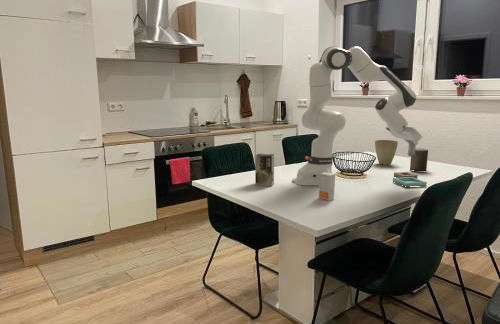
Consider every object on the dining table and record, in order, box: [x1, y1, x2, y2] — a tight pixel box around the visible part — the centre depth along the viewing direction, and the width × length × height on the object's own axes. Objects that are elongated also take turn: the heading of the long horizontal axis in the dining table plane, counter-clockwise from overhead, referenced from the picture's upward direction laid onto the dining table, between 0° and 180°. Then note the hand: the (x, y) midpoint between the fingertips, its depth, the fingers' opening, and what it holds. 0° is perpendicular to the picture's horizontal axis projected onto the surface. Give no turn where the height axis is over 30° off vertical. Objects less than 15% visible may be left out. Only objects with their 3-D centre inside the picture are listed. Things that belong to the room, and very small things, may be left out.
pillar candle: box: [409, 147, 429, 172], centre depth 241 cm, size 10×10×15 cm
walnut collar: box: [393, 171, 419, 179], centre depth 220 cm, size 9×9×3 cm
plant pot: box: [374, 139, 399, 166], centre depth 261 cm, size 15×15×16 cm
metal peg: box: [407, 140, 417, 157], centre depth 204 cm, size 4×4×12 cm
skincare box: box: [318, 172, 336, 201], centre depth 179 cm, size 6×4×12 cm
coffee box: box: [254, 153, 275, 187], centre depth 204 cm, size 9×6×16 cm
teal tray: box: [392, 177, 427, 187], centre depth 207 cm, size 12×12×2 cm
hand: (413, 143), depth 204 cm, fingers closed on metal peg, 3 cm apart
